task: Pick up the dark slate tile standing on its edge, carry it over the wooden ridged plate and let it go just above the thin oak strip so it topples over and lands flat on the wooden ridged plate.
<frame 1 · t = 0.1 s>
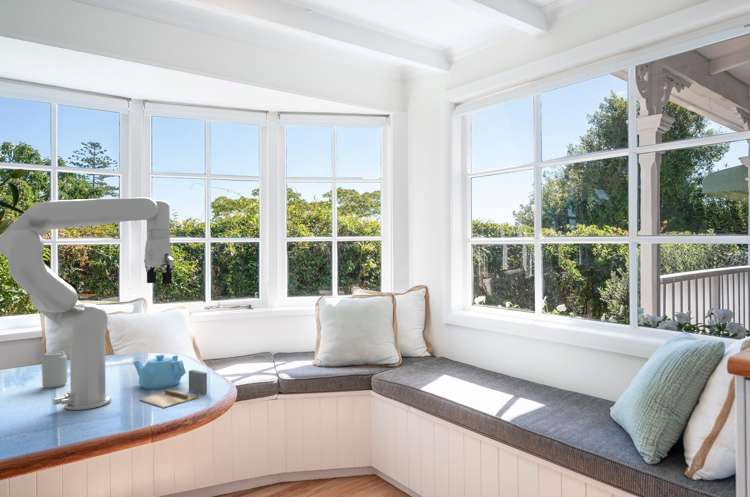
hand: (159, 283, 172), 37 cm above the table, tool pointing down, fingers open, 9 cm apart
can: (54, 386, 174), on the table
teapot: (159, 385, 174), on the table
tile: (197, 392, 164), on the table
wooden ridged plate: (168, 399, 156), on the table
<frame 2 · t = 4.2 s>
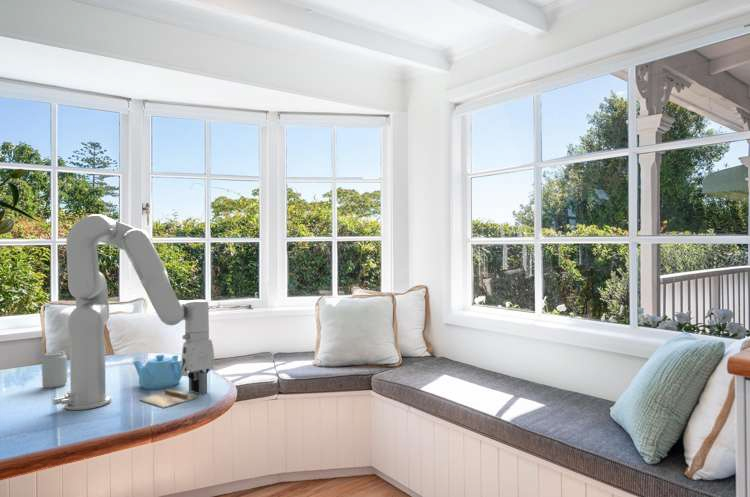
hand: (197, 390, 164), 1 cm above the table, tool pointing down, fingers closed on tile, 1 cm apart
tile: (198, 392, 164), on the table, touching gripper
everything else where it was.
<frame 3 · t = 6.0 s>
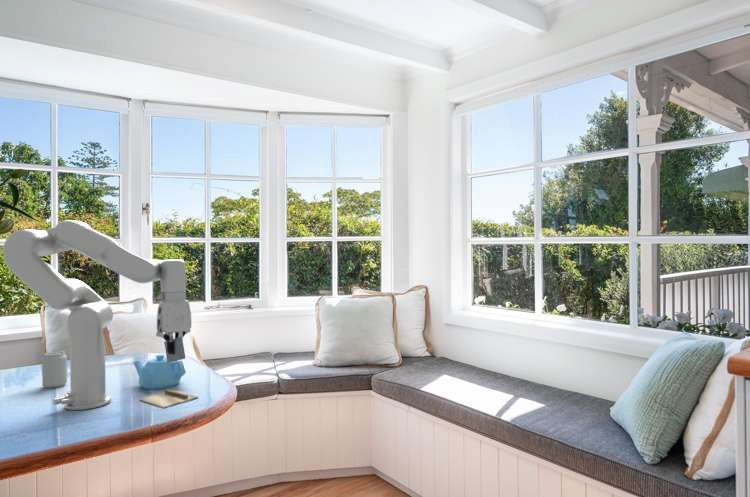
hand: (174, 352, 158), 15 cm above the table, tool pointing down, fingers closed on tile, 1 cm apart
tile: (176, 360, 157), point 12 cm above the table, tilted 15°, touching gripper
everything else where it was.
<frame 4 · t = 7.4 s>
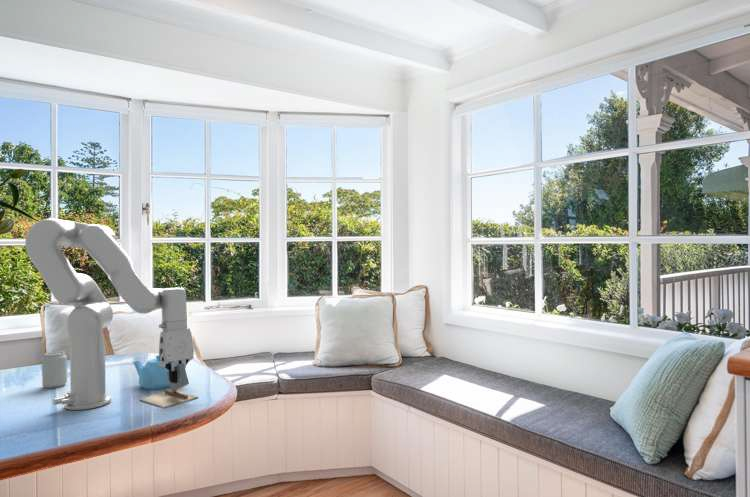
hand: (177, 381, 158), 5 cm above the table, tool pointing down, fingers closed on tile, 1 cm apart
tile: (180, 388, 156), point 3 cm above the table, tilted 27°, touching gripper, wooden ridged plate
everything else where it was.
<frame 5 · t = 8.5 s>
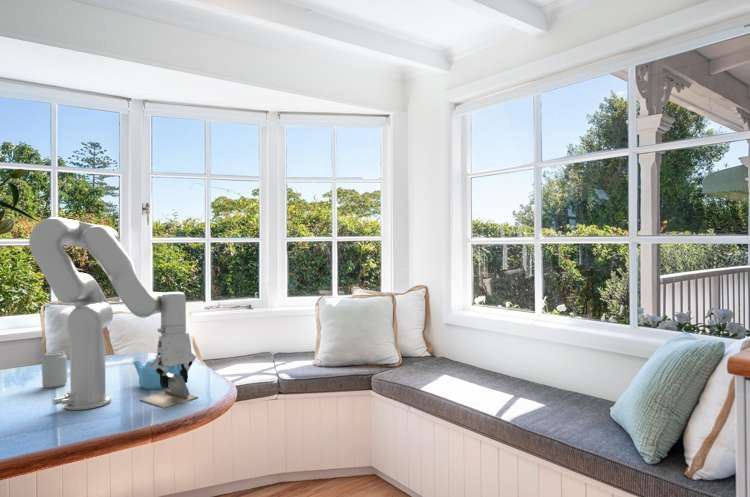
hand: (174, 384, 158), 4 cm above the table, tool pointing down, fingers open, 6 cm apart
tile: (180, 393, 156), point 2 cm above the table, tilted 22°, touching wooden ridged plate
everything else where it was.
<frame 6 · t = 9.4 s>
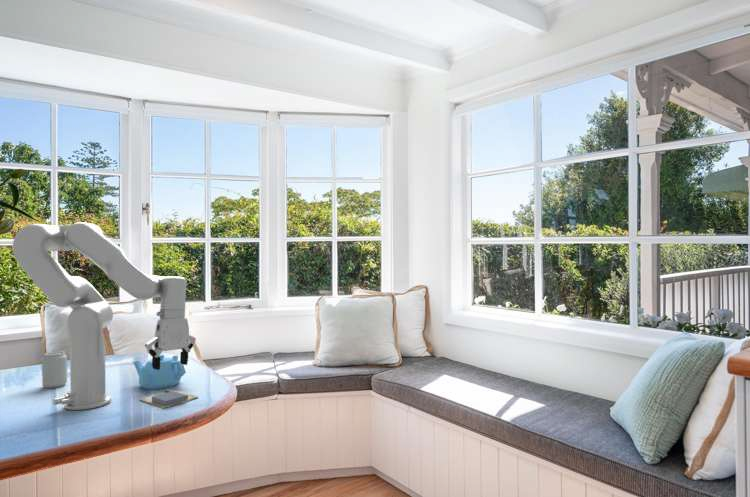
hand: (170, 366, 157), 10 cm above the table, tool pointing down, fingers open, 9 cm apart
tile: (179, 395, 156), point 1 cm above the table, tilted 90°, touching wooden ridged plate
everything else where it was.
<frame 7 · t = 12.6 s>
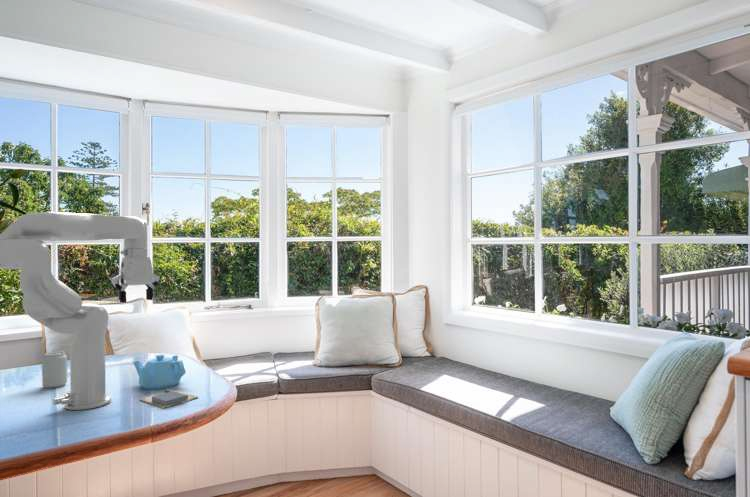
hand: (136, 301, 173), 30 cm above the table, tool pointing down, fingers open, 9 cm apart
nothing on the table moved.
at the end: tile tilted 90°; tile inside the target area on the wooden ridged plate (3.6 cm from its centre), point 1.2 cm above the wooden ridged plate's base; the gripper is holding nothing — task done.
